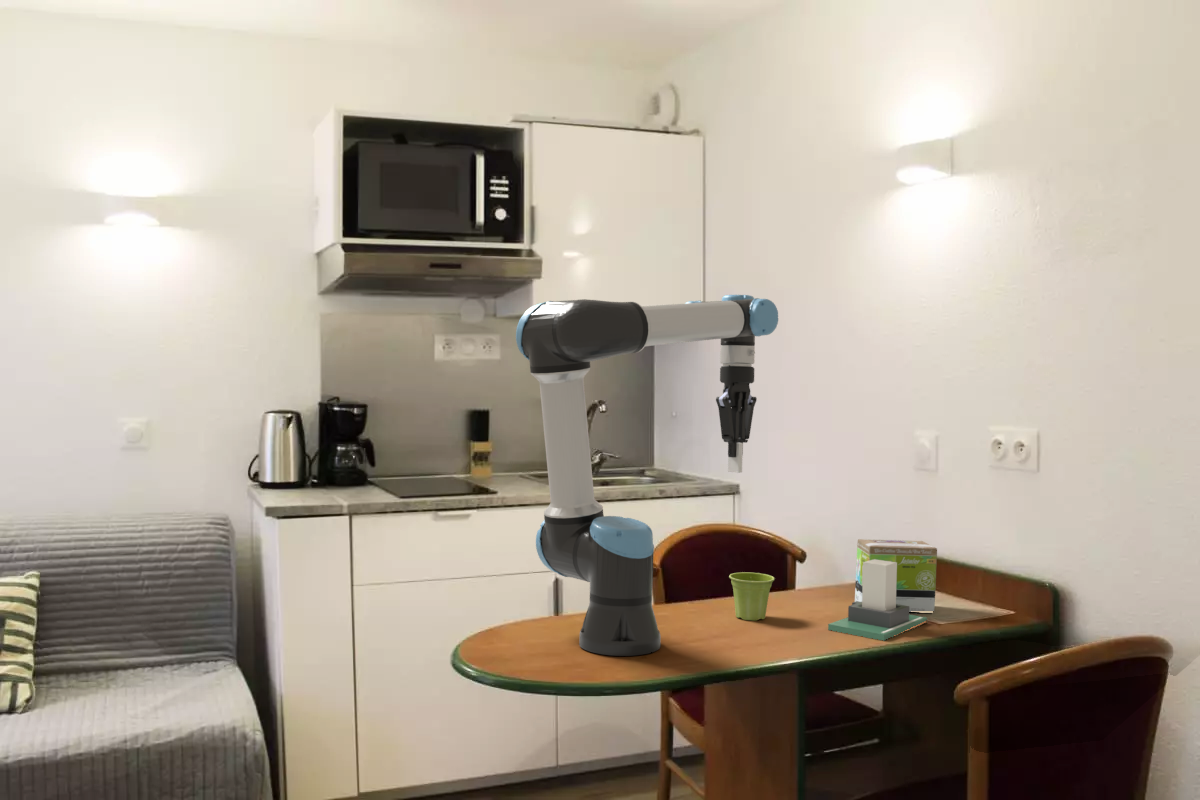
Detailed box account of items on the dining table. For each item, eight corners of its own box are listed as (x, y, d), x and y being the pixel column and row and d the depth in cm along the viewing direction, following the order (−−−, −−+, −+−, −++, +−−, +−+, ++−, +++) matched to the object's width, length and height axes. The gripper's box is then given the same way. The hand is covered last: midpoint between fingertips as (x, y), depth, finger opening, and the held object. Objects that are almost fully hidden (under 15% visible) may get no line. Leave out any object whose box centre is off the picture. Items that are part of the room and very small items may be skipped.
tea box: (867, 613, 226) (868, 545, 225) (854, 603, 236) (855, 538, 235) (936, 614, 226) (937, 546, 226) (920, 604, 236) (922, 539, 236)
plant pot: (771, 613, 224) (772, 573, 224) (774, 623, 215) (775, 581, 215) (727, 611, 225) (728, 571, 225) (728, 622, 216) (729, 580, 215)
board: (883, 640, 202) (884, 619, 202) (828, 630, 210) (828, 609, 210) (927, 623, 218) (927, 603, 217) (873, 613, 225) (874, 594, 225)
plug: (884, 625, 210) (886, 565, 210) (858, 620, 214) (859, 561, 214) (895, 620, 214) (897, 562, 214) (869, 616, 218) (870, 558, 218)
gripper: (735, 365, 224) (732, 475, 224) (767, 366, 234) (765, 471, 234) (706, 364, 229) (704, 472, 229) (739, 365, 238) (737, 469, 239)
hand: (735, 471), depth 232 cm, fingers closed
